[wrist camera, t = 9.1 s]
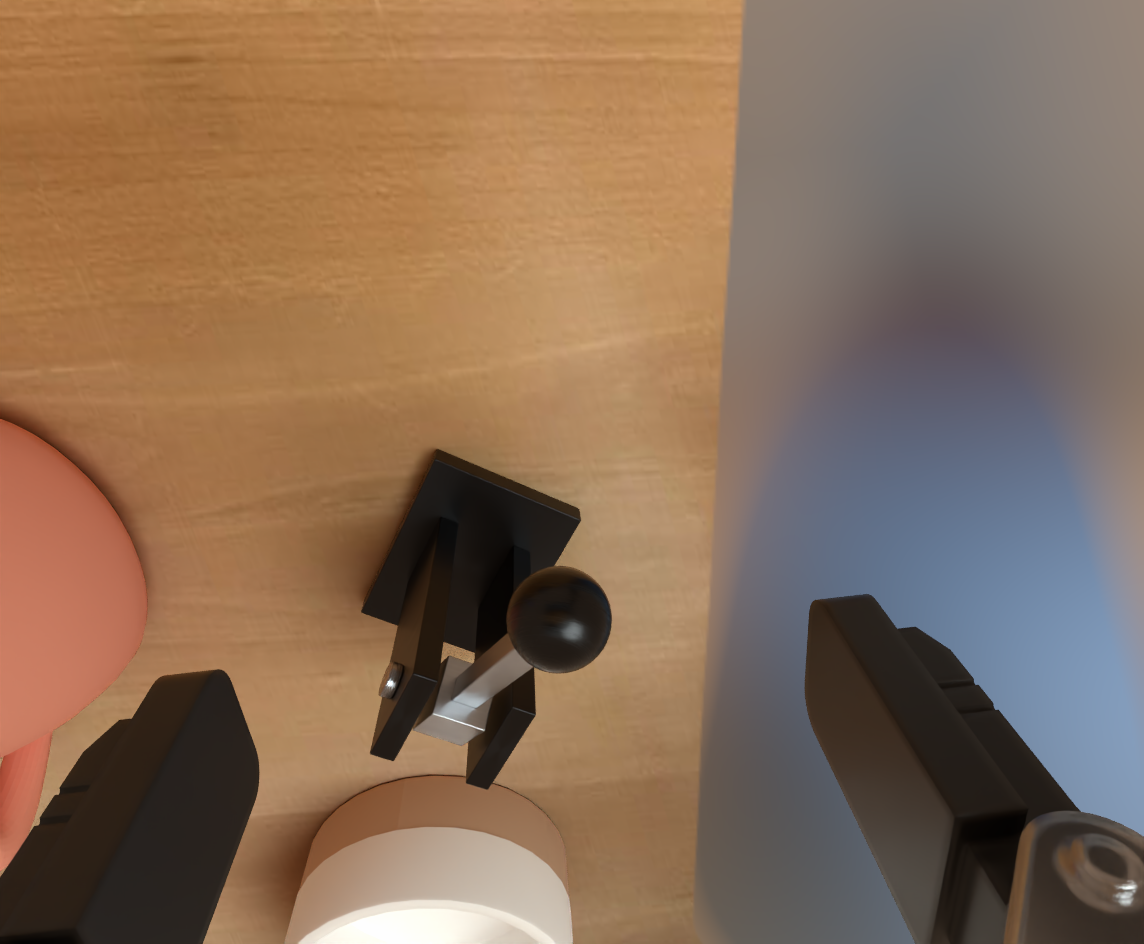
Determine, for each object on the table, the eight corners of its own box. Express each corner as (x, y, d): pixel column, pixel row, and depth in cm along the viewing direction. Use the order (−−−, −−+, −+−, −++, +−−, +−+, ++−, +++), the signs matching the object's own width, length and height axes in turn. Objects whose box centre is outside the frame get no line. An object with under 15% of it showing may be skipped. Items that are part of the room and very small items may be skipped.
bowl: (608, 810, 50) (625, 936, 42) (511, 964, 56) (510, 1097, 49) (351, 744, 46) (320, 870, 38) (278, 918, 52) (239, 1055, 45)
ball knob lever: (437, 448, 38) (403, 601, 26) (579, 508, 40) (605, 675, 28) (364, 599, 41) (306, 791, 30) (498, 647, 43) (492, 844, 32)
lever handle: (543, 533, 22) (520, 632, 21) (637, 572, 23) (623, 670, 21) (420, 661, 32) (397, 736, 30) (488, 685, 33) (470, 759, 31)
